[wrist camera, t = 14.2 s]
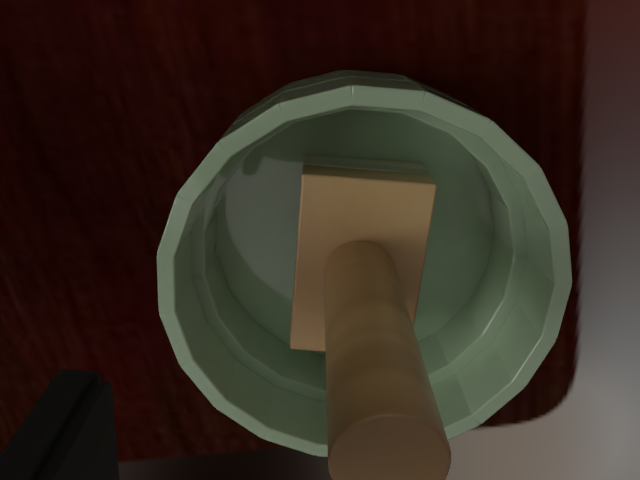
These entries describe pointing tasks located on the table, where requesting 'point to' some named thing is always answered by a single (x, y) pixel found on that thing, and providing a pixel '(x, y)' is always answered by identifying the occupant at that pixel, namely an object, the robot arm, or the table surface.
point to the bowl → (439, 268)
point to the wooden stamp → (368, 313)
